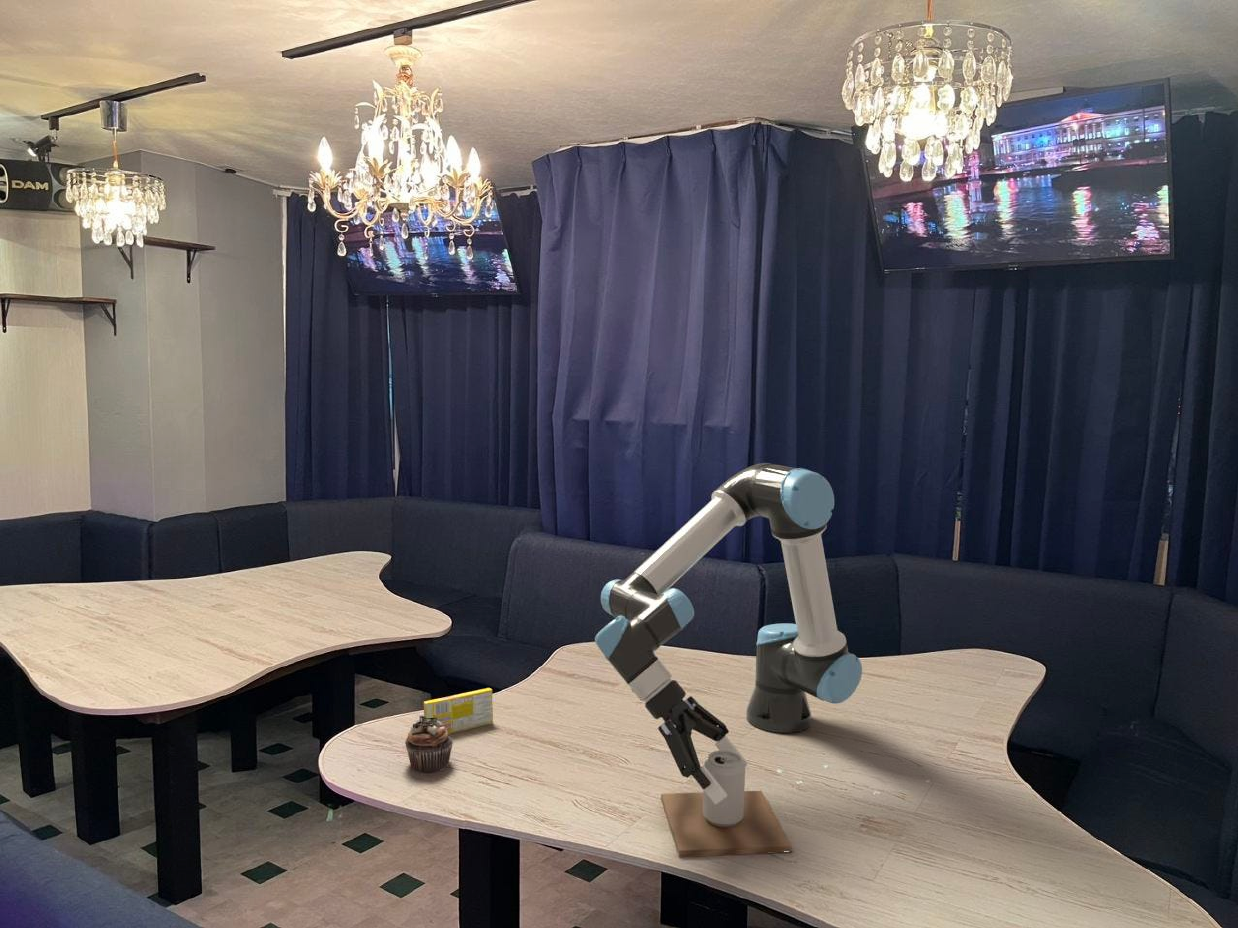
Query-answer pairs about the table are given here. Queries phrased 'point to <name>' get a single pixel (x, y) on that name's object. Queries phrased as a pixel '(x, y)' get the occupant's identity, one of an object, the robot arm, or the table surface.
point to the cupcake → (428, 745)
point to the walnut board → (708, 839)
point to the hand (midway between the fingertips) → (732, 783)
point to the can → (725, 788)
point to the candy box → (462, 710)
